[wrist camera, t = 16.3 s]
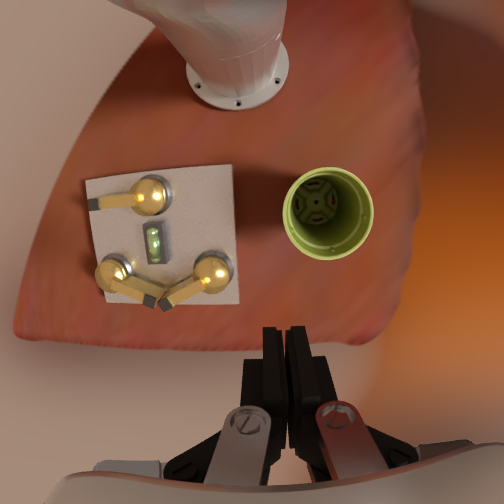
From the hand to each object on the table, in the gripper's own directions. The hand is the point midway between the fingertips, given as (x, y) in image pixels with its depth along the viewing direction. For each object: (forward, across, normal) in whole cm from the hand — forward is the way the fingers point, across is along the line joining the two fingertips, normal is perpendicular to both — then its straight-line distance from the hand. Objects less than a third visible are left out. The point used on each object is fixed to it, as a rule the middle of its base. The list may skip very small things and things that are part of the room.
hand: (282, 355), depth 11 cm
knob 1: (+24, +19, +7) cm, 32 cm away
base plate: (+27, +14, +2) cm, 31 cm away
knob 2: (+25, +9, +7) cm, 27 cm away
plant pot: (+27, -6, -2) cm, 28 cm away
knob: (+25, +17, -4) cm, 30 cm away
